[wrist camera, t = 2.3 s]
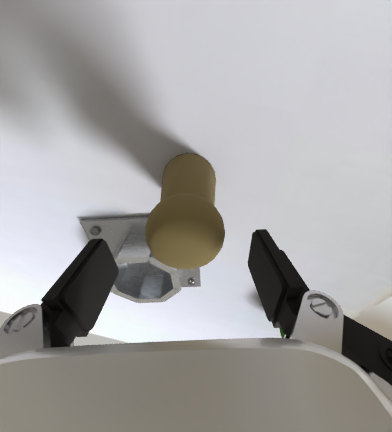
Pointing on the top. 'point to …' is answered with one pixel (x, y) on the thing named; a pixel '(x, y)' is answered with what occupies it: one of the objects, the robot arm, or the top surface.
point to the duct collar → (138, 261)
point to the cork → (186, 215)
